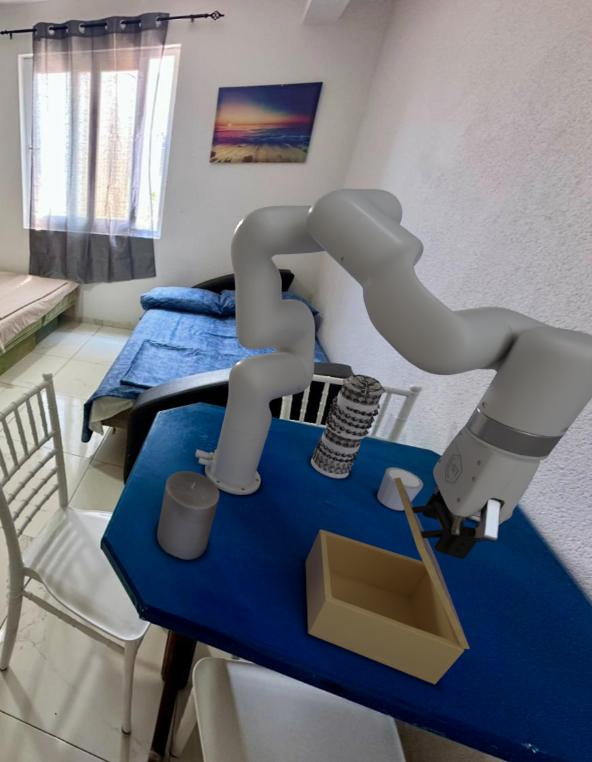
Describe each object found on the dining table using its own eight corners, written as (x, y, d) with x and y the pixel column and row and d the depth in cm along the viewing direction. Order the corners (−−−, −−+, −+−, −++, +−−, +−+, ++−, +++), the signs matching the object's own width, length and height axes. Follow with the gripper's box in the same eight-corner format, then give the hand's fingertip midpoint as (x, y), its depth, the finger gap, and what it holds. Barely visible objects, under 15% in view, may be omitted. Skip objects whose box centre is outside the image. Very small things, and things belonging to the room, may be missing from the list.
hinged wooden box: (308, 633, 65) (325, 599, 61) (305, 561, 77) (320, 529, 73) (435, 684, 59) (464, 651, 55) (411, 598, 71) (433, 565, 67)
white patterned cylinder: (359, 474, 100) (401, 385, 88) (332, 483, 97) (372, 392, 85) (326, 452, 107) (361, 367, 95) (301, 460, 104) (333, 373, 92)
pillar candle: (189, 516, 86) (201, 461, 79) (216, 553, 78) (232, 496, 71) (148, 526, 83) (156, 470, 76) (171, 566, 75) (184, 508, 68)
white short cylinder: (416, 515, 88) (430, 491, 85) (381, 509, 90) (394, 485, 86) (401, 492, 94) (413, 469, 91) (368, 488, 96) (380, 465, 92)
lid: (417, 549, 52) (468, 546, 49) (393, 478, 64) (433, 471, 61) (462, 649, 55) (512, 651, 52) (431, 563, 67) (471, 561, 64)
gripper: (449, 391, 57) (397, 487, 65) (499, 463, 43) (424, 573, 52) (519, 404, 54) (454, 503, 63) (596, 486, 40) (499, 598, 49)
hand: (441, 534), depth 57 cm, fingers closed on lid, 6 cm apart
